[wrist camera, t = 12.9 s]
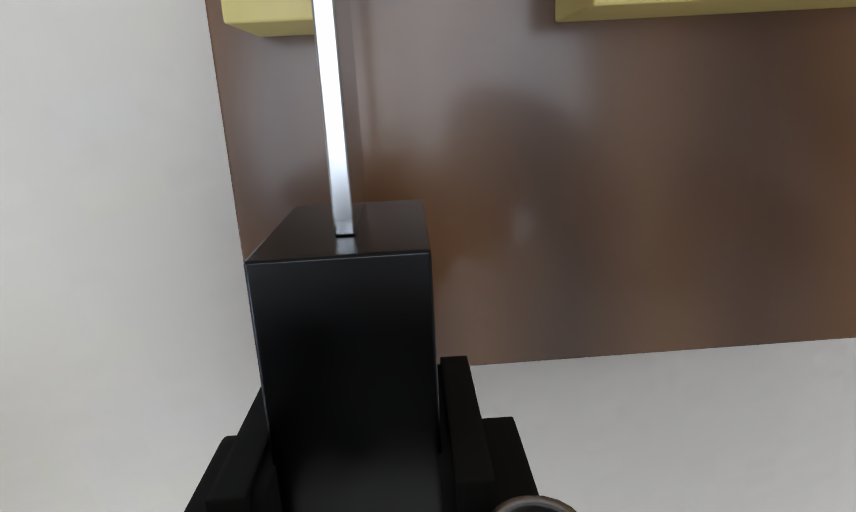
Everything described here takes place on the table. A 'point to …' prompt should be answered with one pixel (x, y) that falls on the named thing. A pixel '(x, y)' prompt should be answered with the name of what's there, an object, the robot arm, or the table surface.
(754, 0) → the butter
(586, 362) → the table surface
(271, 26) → the butter pat
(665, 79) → the butter board
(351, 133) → the screwdriver
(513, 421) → the robot arm
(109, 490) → the table surface
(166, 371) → the table surface
